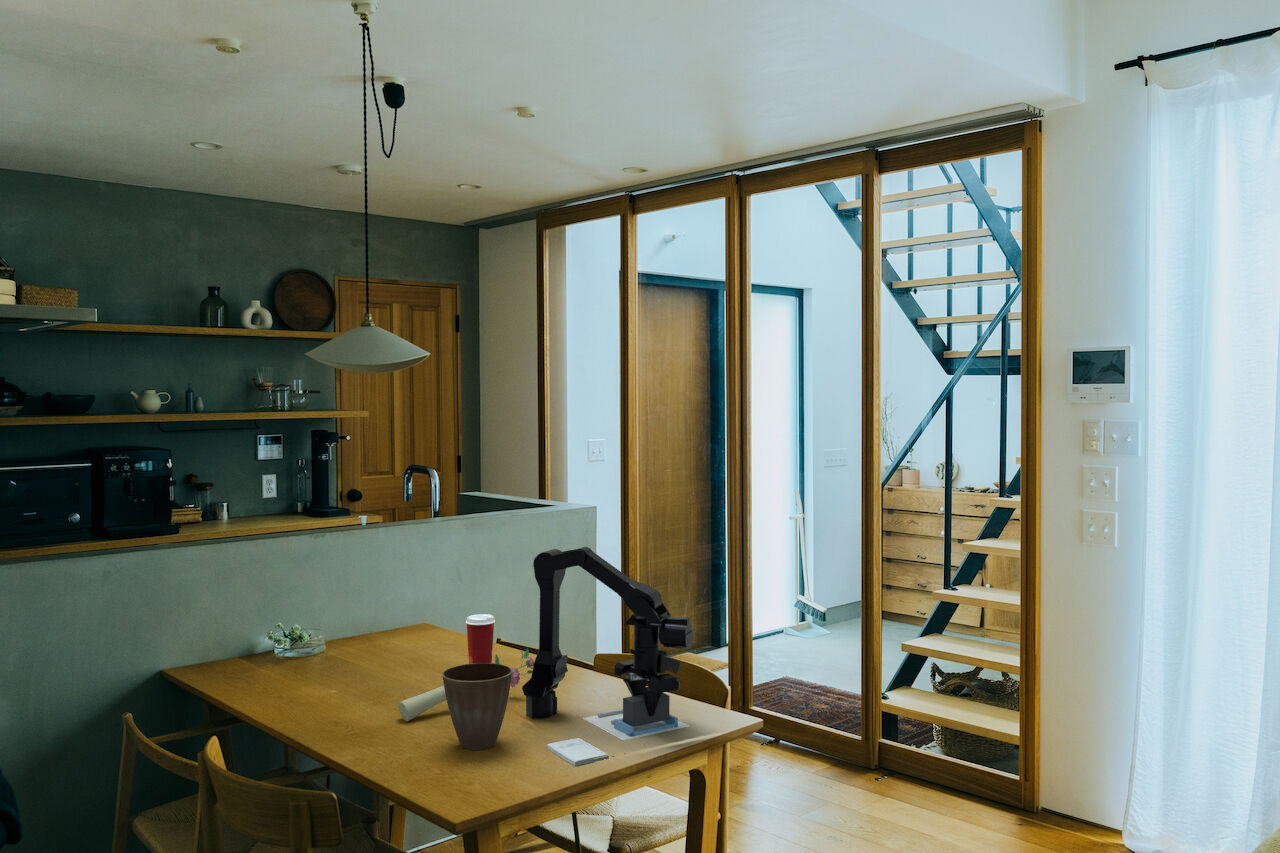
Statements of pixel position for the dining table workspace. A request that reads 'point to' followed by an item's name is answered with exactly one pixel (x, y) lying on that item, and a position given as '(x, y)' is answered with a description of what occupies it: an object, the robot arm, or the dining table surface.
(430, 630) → the dining table surface
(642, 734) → the board
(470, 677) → the plant pot
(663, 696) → the dark gray block
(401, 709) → the flower vase
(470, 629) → the coffee cup
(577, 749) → the external hard drive
